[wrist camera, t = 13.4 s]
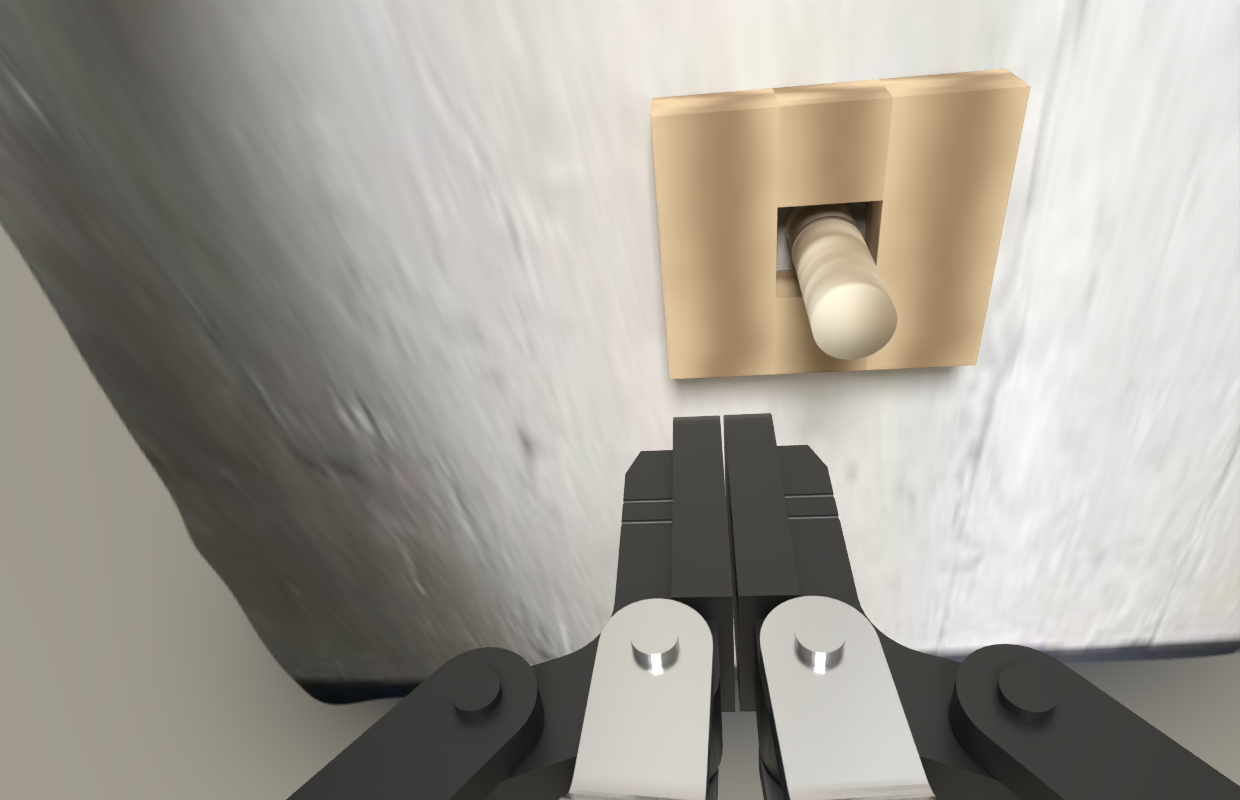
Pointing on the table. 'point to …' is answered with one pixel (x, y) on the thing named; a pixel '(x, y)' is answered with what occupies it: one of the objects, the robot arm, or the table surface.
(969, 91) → the board
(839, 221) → the peg
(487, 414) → the table surface
